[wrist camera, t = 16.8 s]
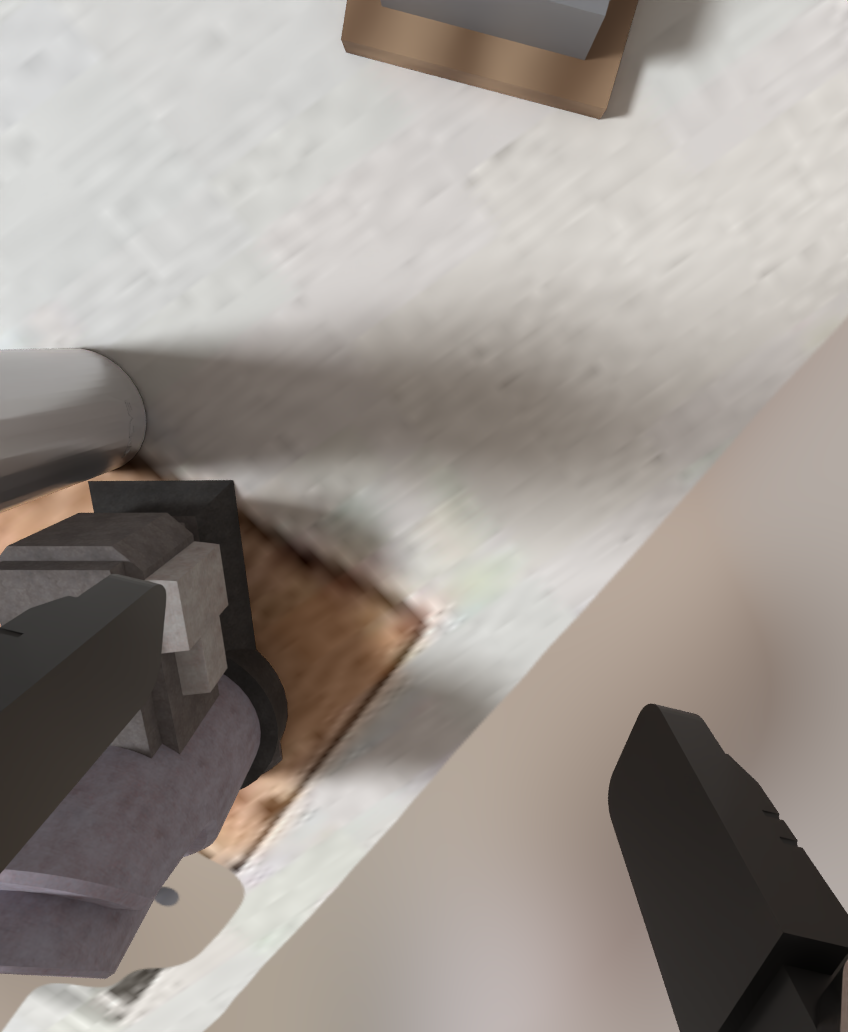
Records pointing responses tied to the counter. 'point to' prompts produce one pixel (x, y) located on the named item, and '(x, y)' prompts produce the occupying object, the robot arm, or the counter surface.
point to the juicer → (142, 722)
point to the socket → (519, 20)
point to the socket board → (493, 55)
